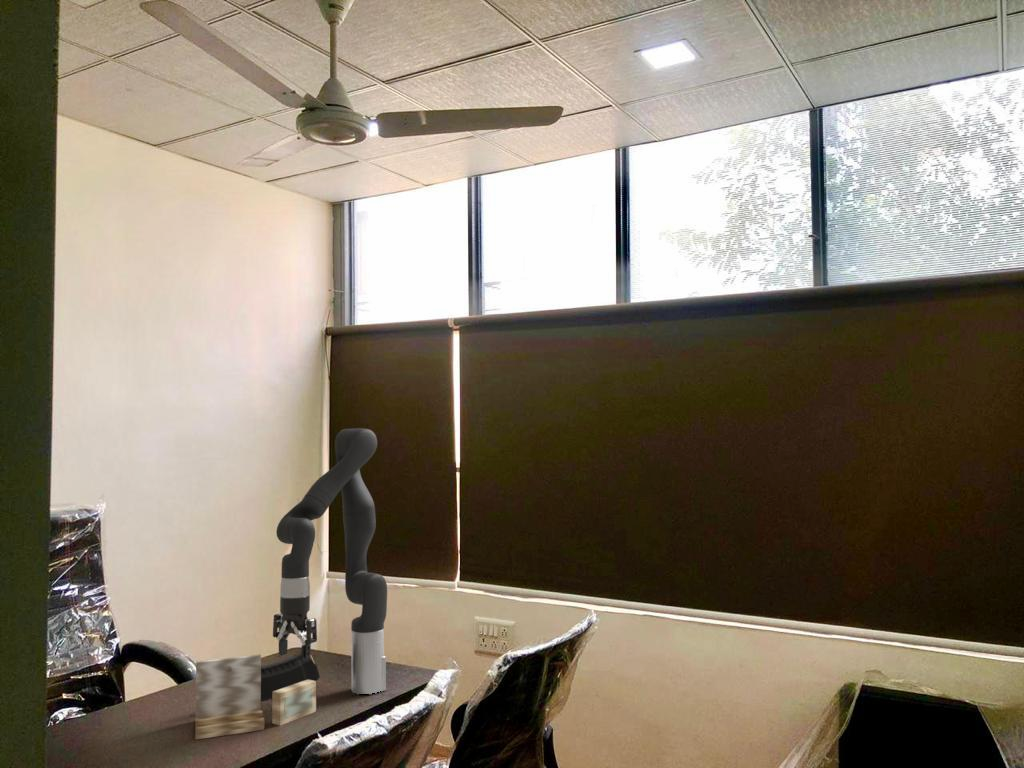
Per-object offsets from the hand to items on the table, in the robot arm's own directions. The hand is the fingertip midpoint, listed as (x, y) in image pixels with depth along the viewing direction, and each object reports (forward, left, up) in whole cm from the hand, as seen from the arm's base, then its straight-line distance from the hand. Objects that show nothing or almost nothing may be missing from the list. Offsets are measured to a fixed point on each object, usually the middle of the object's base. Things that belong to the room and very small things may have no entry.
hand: (294, 656), depth 207 cm
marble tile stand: (+16, -1, -15) cm, 22 cm away
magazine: (+5, -19, -16) cm, 25 cm away
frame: (0, 0, -16) cm, 16 cm away
